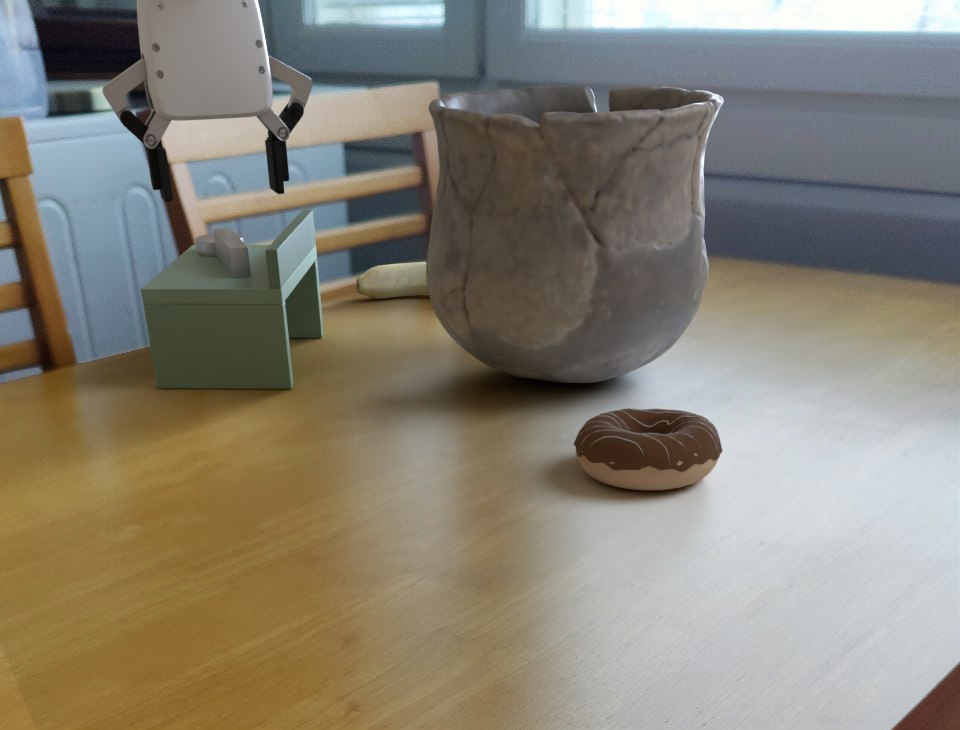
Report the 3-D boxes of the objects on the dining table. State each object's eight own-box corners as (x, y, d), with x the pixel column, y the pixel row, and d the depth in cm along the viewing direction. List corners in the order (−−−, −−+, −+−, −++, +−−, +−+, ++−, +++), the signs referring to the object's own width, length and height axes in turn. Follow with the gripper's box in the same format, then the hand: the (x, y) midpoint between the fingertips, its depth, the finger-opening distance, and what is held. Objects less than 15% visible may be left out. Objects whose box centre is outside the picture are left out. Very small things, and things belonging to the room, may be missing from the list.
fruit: (374, 288, 136) (372, 256, 134) (505, 293, 133) (505, 260, 131) (355, 304, 131) (352, 271, 129) (490, 310, 128) (490, 276, 126)
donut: (622, 510, 83) (626, 453, 81) (547, 463, 91) (548, 409, 88) (748, 483, 87) (755, 427, 85) (666, 440, 95) (670, 388, 92)
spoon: (267, 275, 105) (263, 245, 104) (216, 279, 104) (212, 249, 103) (240, 245, 116) (236, 217, 114) (194, 249, 115) (190, 220, 113)
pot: (596, 325, 122) (607, 74, 109) (757, 381, 106) (793, 96, 93) (380, 366, 112) (363, 94, 99) (523, 435, 96) (526, 122, 83)
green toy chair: (157, 388, 107) (133, 249, 100) (205, 334, 121) (187, 209, 114) (291, 389, 106) (276, 249, 100) (323, 334, 121) (313, 209, 114)
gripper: (290, -52, 100) (310, 182, 110) (75, -48, 96) (117, 195, 106) (310, -51, 94) (329, 195, 105) (82, -47, 90) (126, 210, 100)
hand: (222, 195), depth 105 cm, fingers open, 9 cm apart
